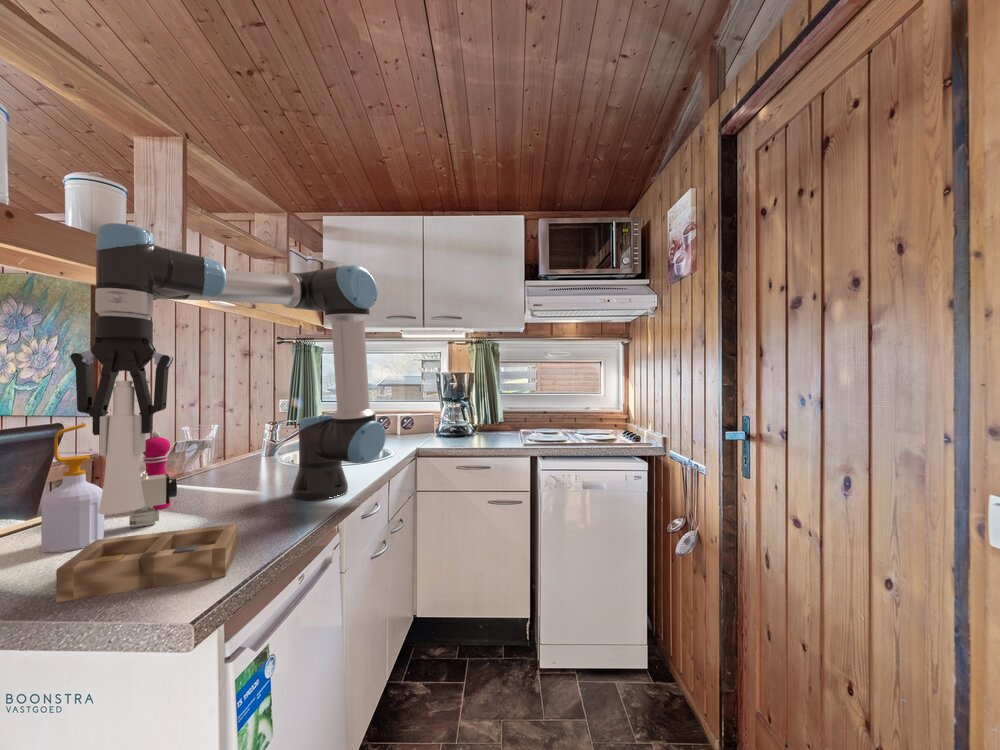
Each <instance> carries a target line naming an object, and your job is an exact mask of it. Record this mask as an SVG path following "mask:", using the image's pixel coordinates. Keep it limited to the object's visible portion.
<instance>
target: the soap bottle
mask: <svg viewBox="0 0 1000 750" xmlns="http://www.w3.org/2000/svg"><path fill="white" fill-rule="evenodd" d="M85 427H87V424H86V423H82V424H77V425H74V426H70V427H66V428H63V429H60V430H59V431H57V432H56V433H55V436H54V443H53V444H54V448H53V449H54V455H53V457H54V459H55V461H57V462H59V463H64V466H68V471H64V472H63V473H62V484H61V485H60V486H57V487H56V488H54V489H52V490H51V491H50V492H48V493H47V494H45V495H44V497H43V498H42V500H41V531H40V532H41V538H40V539H41V542H40V543H41V545H40V548H41V550H42V551H43V552H44V553H45V552H47V553H51V552H52V553H64V552H63V551H66V552H71V551H70V550H72V551H75V549H77V550H80V549H79V548H81V549H84V548H83V547H85V548H86V547H87V546H88V545H90V544H91V543H92V542H94V541H95V540H99V539H104V537H105V514H100V513H99V512H98V510H99V506H100V502H101V497H102V492H103V487H102V488H101V487H99V486H98V485H97V484H94V483H91V482H88V481H87V476H86V470H85V469H83V470H82V469H81V465H82V464H84V463H85V461H87V460H90V459H91V456H90V455H89V454H86V455H75V456H64V457H63V456H62V457H61V456H60V455H59V445H58V443H59V441H58V440H59V437H60V436H61V435H62V434H65V433H68V432H72V431H74V430H78V429H82V428H85Z"/></svg>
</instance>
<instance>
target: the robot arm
mask: <svg viewBox="0 0 1000 750" xmlns="http://www.w3.org/2000/svg"><path fill="white" fill-rule="evenodd" d="M95 240H96V241H95V248H94V253H95V302H94V303H95V307H94V308H95V310H94V311H95V313H96V314H98V315H99V316H96V317H95V318H94V343H93V345H92V346H91V348H90V349H89V350H86V351H82V352H79V353H78V352H72V353H71V354H70V357H69V358H70V359H71V362H72V363H73V365H74V368H75V384H76V385H75V386H76V389H75V390H76V410H77V412H79V413H83V414H87V415H90V416H91V417H92V427H91V428H92V432H91V433H92V435H93V436H99V442H98V443H99V445H98V448H99V449H98V450H99V453H98V455H99V456H100V457H101V456H102V457H103V456H105V457H106V455H107V441H108V428H109V418H110V416H111V415H112V414H110V415H109V411H108V410H109V406H110V402H111V399H112V396H113V388H114V387H115V385H116V381H117V380H116V379H117V377H118V376H119V373H120V372H123V371H126V372H129V375H130V377H131V378H132V381H133V387H134V388H135V395H136V400H137V403H138V408H139V412H138V414H136V415H137V416H135V444H134V454H139V455H141V454H143V452H145V449H146V440H147V438H146V435H147V434H152V433H153V430H154V429H153V428H154V427H153V426H154V425H153V423H154V421H153V420H154V414H156V413H159V412H162V411H164V410H165V409H166V408H167V403H168V402H167V401H168V385H169V384H168V383H169V369H170V366H171V365H172V363H173V361H174V357H173V356H172V355H167V354H164V353H161V352H158V351H157V350H156V347H155V346H154V344H153V343H154V342H153V340H154V337H153V336H154V329H153V328H154V323H153V321H152V320H151V319H150V318H153V316H154V301H157V300H176V301H177V300H178V301H179V300H180V301H181V300H182V301H188V300H189V301H208V302H228V303H247V304H248V303H251V304H271V305H272V304H273V305H274V304H275V305H281V306H282V307H284V308H286V309H295V310H296V309H297V310H307V311H314V312H324V316H325V318H326V319H327V320H328V321H329V322H330V324H331V335H332V336H331V337H332V338H331V339H332V350H333V352H332V353H333V365H334V366H333V367H334V383H335V394H336V399H335V400H336V411H335V412H334V413H333V414H326V415H314V416H308V417H307V416H306V417H303V418H301V419H300V421H299V425H298V427H299V428H298V471H297V474H296V476H295V480H294V483H293V485H292V491H291V496H293V497H294V499H295V498H296V500H300V499H301V501H318V500H317V499H322V500H325V499H324V498H329V497H334V496H337V495H341V494H343V493H345V492H346V491H347V490H348V489H349V484H348V480H347V478H346V475H345V472H344V468H343V466H342V465H343V464H342V463H343V462H347V463H352V464H369V463H370V462H373V461H374V460H376V459H377V458H378V457H379V456H380V454H381V452H382V451H383V450H384V448H385V447H384V446H385V443H386V439H387V438H386V437H387V433H386V429H385V427H384V426H383V424H382V423H381V422H378V421H377V417H376V411H374V410H373V409H372V408H371V407H370V394H369V391H370V390H369V379H368V378H369V376H368V359H367V357H368V356H367V346H366V345H367V343H366V327H365V326H366V323H365V322H366V321H367V320H368V319H369V317H370V316H371V315H370V314H371V313H370V308H372V307H373V306H374V305H375V304H376V302H377V300H378V286H377V283H376V281H375V279H374V277H373V276H372V275H371V274H370V272H369V271H368V270H367V269H366V268H364V267H362V266H360V265H356V264H352V265H346V264H345V265H341V266H336V267H330V268H323V269H316V270H312V271H305V272H288V271H287V272H284V273H282V274H281V275H280V274H271V273H261V272H254V271H253V272H251V271H245V270H244V271H243V270H237V269H236V270H234V269H225V267H224V265H223V264H222V263H221V262H219V261H217V260H215V259H211V258H208V257H206V256H200V255H194V254H191V253H187V252H182V251H179V250H174V249H169V248H165V247H161V246H159V245H156V241H155V236H154V234H153V232H151V231H150V230H148V229H144V228H143V227H140V226H136V225H132V224H125V223H113V222H110V223H109V222H108V223H104V224H102V225H100V226H99V227H98V229H97V233H96V239H95ZM94 358H96V359H97V360H98V362H99V363H100V364H101V365H102V367H101V371H100V379H99V384H98V387H97V390H96V393H95V394H96V395H95V398H94V389H93V388H94V385H93V383H94V382H93V368H92V365H93V364H94ZM152 359H153V360H154V364H155V366H156V368H155V376H154V392H153V393H154V394H153V401H152V398H151V393H150V388H149V384H148V380H147V372H146V368H145V366H147V365H148V363H149V362H150V361H151V360H152ZM348 491H349V490H348ZM348 491H347V492H348ZM345 494H346V493H345ZM343 495H344V494H343ZM341 496H342V495H341ZM293 497H292V498H293ZM334 498H335V497H334ZM329 499H330V498H329Z"/></svg>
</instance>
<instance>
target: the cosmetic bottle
mask: <svg viewBox="0 0 1000 750" xmlns="http://www.w3.org/2000/svg"><path fill="white" fill-rule="evenodd" d="M115 385H116V386H115ZM115 385H114V388H113V391H112V396H113V397H112V414H110V415H111V416H110V418H109V428H108V441H107V455H105V471H104V479H103V486H102V490H103V492H102V497H101V502H100V506H99V510H98V512H99V513H100V514H104V515H119V514H125V513H130V512H134V511H136V510H138V509H139V510H140V509H141V508H143V507H144V506H145V501H144V496H143V491H142V484H141V477H142V473H141V461H140V454H134V444H135V416H137V415H138V414H136V413H135V399H136V398H135V395H136V392H135V388H134V383H133V380H115Z"/></svg>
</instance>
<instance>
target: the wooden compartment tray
mask: <svg viewBox="0 0 1000 750" xmlns="http://www.w3.org/2000/svg"><path fill="white" fill-rule="evenodd" d="M238 536H239V534H238V523H233V524H232V523H231V524H222V525H215V526H205V527H197V528H188V529H180V530H171V531H163V532H153V533H152V532H151V533H147V534H146V533H145V534H136V535H135V534H134V535H128V536H119V537H109V538H103V539H99V540H95V541H94V542H92V543H91V544H90V545H88V546H87V547H85V548H82V549H81V550H80V551H79V552H78V553H76V554H75V555H74V556H72V557H71V558H70V559H69V560H67V561H66V562H65V563H63V564H62V565H61V566H59V567H58V568H56V572H55V573H56V574H55V575H56V587H55V590H56V593H55V594H56V595H55V598H56V599H55V601H56V603H61V602H68V601H74V600H82V599H87V598H95V597H100V596H106V595H114V594H120V593H127V592H134V591H140V590H146V589H153V588H159V587H164V586H166V587H167V586H172V585H177V584H184V583H185V584H186V583H191V582H196V581H197V582H198V581H203V580H204V581H205V580H211V579H210V578H212V579H217V578H216V577H218V578H223V577H222V576H224V577H226V575H227V574H228V572H227V571H229V569H230V567H229V566H231V565H230V564H232V563H233V561H234V558H233V557H235V556H236V553H237V551H238ZM236 550H237V551H236ZM226 573H227V574H226Z"/></svg>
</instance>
